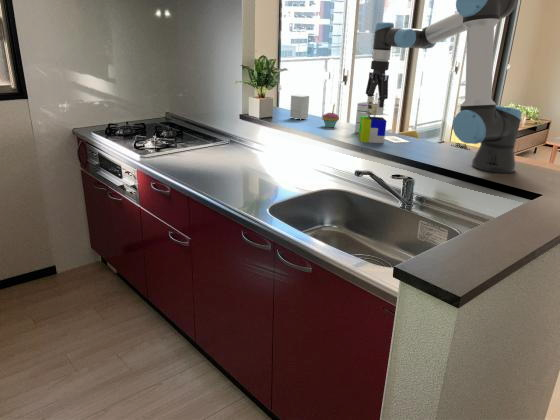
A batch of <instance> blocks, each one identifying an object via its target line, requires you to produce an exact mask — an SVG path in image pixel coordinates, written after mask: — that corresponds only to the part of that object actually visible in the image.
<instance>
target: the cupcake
mask: <svg viewBox="0 0 560 420" xmlns="http://www.w3.org/2000/svg"><path fill="white" fill-rule="evenodd" d="M335 103H336V102H334V104H333V107H332V112H327V113H325V114H323V115H322V116H321V117H322V119H321V120H323V122H324V127H325V128H329V127H334V128H335V126H336V124H337V123H338V121H339V119H340V116H339V115H338V114H336V113H334V111H335V106H336V104H335Z"/></svg>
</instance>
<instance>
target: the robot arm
mask: <svg viewBox="0 0 560 420" xmlns="http://www.w3.org/2000/svg"><path fill="white" fill-rule="evenodd" d="M516 4H517V0H456V2H455V9H456V11H457V12H455V13H453V14H451V15H449V16H447V17H444V18H443V19H440V20H438V21H437V22H434V23H432V24H430V25H427V26H425V27H423V28H410V27H394V26H395V24H394V23H393V22H388V21H378V22H377V23H376V24H375V30H374V38H373V46H372V47H373V48H372V52H371V55H372V57H371V58H372V60H371V62H370V63H371V64H370V69H371V70H373V72H372V71H371V72H369V73H368V81H367V84H366V89H365V95H366V96H367V99H366V100H367V101H366V102H367V103H370V102H371V103H374V102H372V101H368V100H374V101H375V92H376V89H378V90H377V91H378V92H377V93H378V98H377V101H378V102H376V104H377V111H376V115H375V116H383V115H382V114H383V113H384V110H383V106H384V105H385V100H388V98H389V97H388V96H389V92H388V91H389V78H390V75H388V74H386V71H388V70H389V66H390V59H391V58H390V57H391V52H392V51H391V50H392V48H393V47H394V48H400V49H401V48H402V49H407V48H408V49H411V48H412V49H423V50H427V49H433V47H435V46H436V45H437V43H439V42H441V41H444V40H446V39H449V38H451V37H454V36H456V35H459V34H461V33H463V32H464V33H465V32H466V55H465V56H466V57H465V58H466V59H465V88H464V89H465V93H464V94H465V96H464V101H463V102H462V103H461V104H460V106H459V107H460V109H459V110H460V111H459V112H458V113H457V114H456V116H455V117H454V118H453V123H452V128H453V132H454V135H455V137H456V138H458V140H460V142H462V143H465V144H473V145H477V144H480V146H479V148H478V149H477V152H476V153H475V156H474V157H473V158H472V161H471V167H474V168H475V169H478V170H481V171H485V172H490V173H499V174H509V173H510V174H511V173H513V172H515V169H516V162H515V161H516V160H515V159H516V158H515V147H516V142H517V137H518V133H519V129H520V124H521V121H522V111H521V109H518V108H514V107H506V106H502V105H497V103H496V102H495V101H494V100H493V98H492V94H493V93H492V92H493V91H492V89H493V67H494V44H495V43H494V41H495V40H494V39H495V27H496V25H498V23H499V22H500V20H503V19H504V18H506V17H507V16H509V15H511V13H512V12H513V11H514V9H515V8H516ZM384 107H385V106H384ZM367 108H368V104H367ZM366 111H371V110H370V109H366Z"/></svg>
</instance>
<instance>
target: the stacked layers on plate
mask: <svg viewBox="0 0 560 420" xmlns="http://www.w3.org/2000/svg"><path fill="white" fill-rule="evenodd" d="M367 100H368V99H367ZM368 101H372V102H373V103H371V102H370V103H367V104H368V108H367V109H370V110H371V112H361V113H364V114H367V115H370V116H377V115H376V111H377V103H378V100H375V99H374V100H368ZM384 107H385V104H384V106H383V111H385V109H384ZM381 116H388V113H384V112H383V114H382V115H381Z"/></svg>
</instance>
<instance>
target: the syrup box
mask: <svg viewBox="0 0 560 420" xmlns="http://www.w3.org/2000/svg"><path fill="white" fill-rule="evenodd" d="M366 109H367V101H359V102H358V103H357V108H356V114H355V115H356V117H355V126H354V127H355V129H354V133H357V134H359V128H360V119H361V116H368V117H371V115H367V114H364V113H361V112H371V111H366Z"/></svg>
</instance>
